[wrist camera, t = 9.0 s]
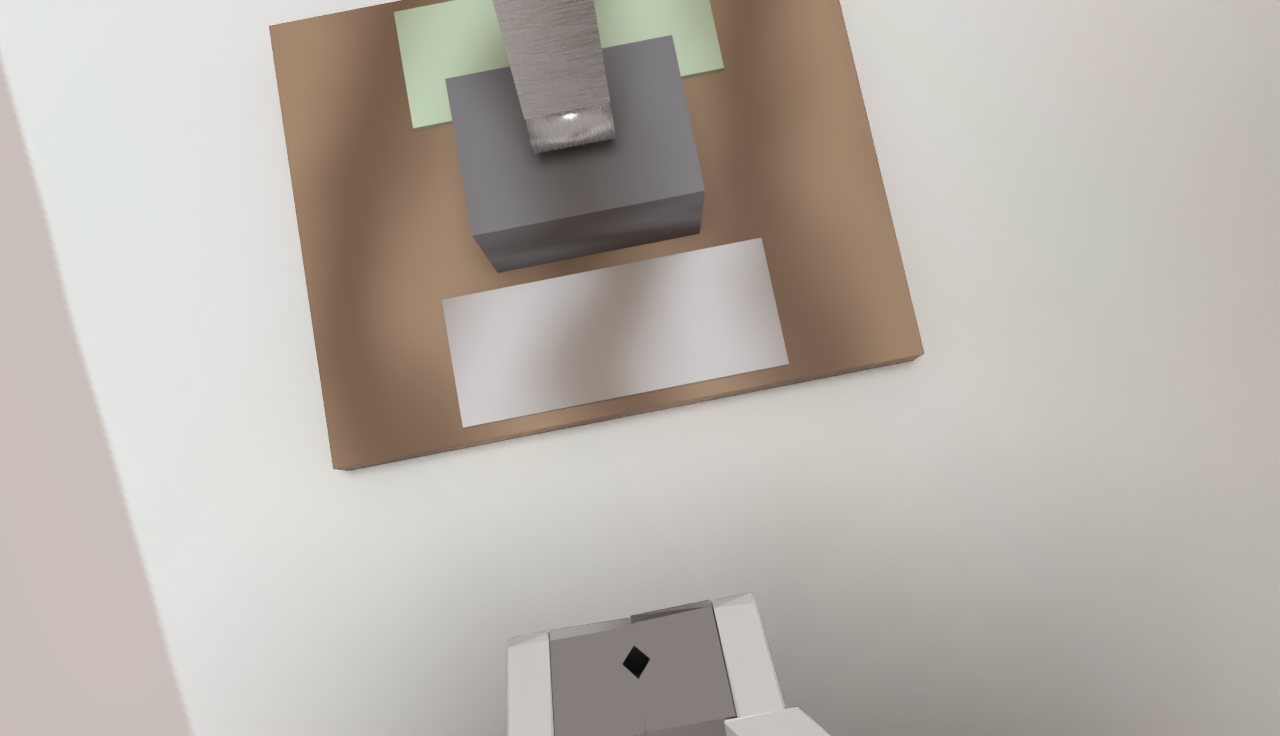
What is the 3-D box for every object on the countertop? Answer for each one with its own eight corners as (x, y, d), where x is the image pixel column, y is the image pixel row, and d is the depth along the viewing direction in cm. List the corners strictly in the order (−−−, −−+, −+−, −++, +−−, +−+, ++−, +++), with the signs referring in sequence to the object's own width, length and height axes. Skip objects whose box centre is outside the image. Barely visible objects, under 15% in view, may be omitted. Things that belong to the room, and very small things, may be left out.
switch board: (813, -57, 36) (842, -168, 30) (912, 360, 34) (965, 327, 28) (285, 45, 36) (211, -46, 30) (347, 470, 34) (280, 461, 28)
